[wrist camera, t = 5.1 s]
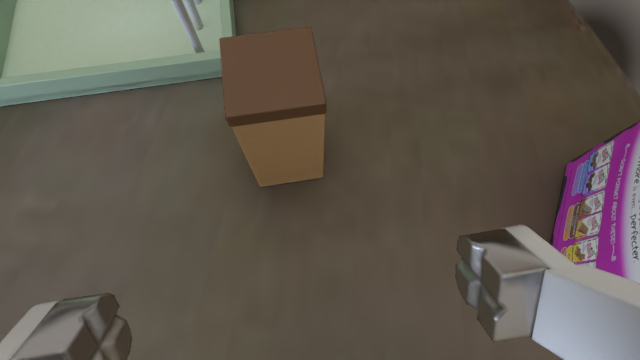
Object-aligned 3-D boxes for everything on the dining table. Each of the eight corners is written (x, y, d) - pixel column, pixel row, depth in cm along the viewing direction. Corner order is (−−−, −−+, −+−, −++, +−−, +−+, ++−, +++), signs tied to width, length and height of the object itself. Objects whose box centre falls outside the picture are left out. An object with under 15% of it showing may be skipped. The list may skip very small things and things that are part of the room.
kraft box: (259, 188, 26) (224, 117, 16) (253, 130, 27) (218, 37, 18) (324, 178, 26) (326, 103, 17) (314, 122, 28) (311, 25, 18)
